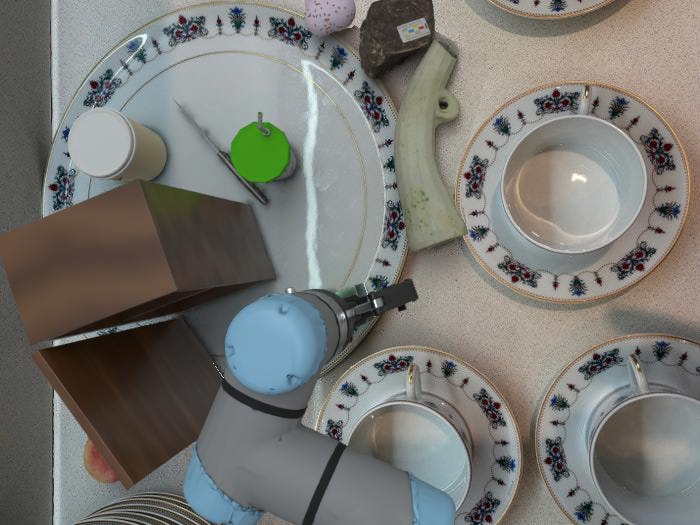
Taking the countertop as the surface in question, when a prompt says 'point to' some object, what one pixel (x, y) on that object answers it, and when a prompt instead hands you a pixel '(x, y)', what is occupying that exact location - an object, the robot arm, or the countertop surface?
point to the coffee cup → (115, 147)
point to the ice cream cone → (328, 15)
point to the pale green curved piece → (426, 153)
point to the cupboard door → (136, 392)
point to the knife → (231, 164)
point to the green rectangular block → (354, 290)
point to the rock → (394, 33)
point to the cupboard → (130, 259)
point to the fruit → (97, 465)
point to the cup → (262, 153)
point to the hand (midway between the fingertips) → (345, 312)
